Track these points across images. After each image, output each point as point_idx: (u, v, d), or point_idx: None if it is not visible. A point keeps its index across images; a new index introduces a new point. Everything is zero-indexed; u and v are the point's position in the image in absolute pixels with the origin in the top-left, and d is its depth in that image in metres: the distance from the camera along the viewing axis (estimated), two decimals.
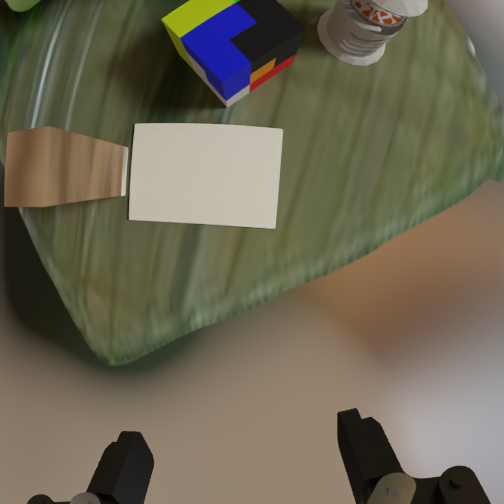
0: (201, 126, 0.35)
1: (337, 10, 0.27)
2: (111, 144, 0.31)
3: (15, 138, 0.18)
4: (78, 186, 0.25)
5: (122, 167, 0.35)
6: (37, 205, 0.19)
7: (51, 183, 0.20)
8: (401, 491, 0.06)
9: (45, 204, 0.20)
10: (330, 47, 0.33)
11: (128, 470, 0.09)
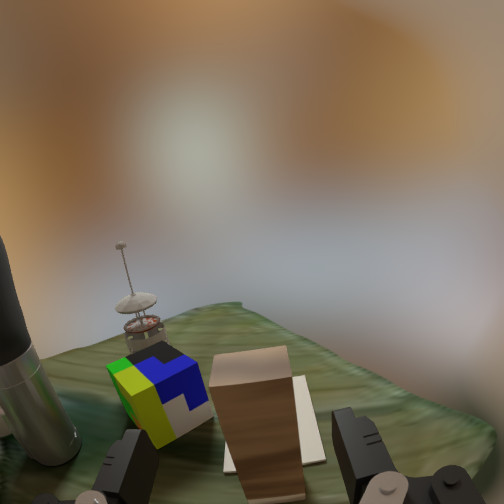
0: None
1: None
2: None
3: (217, 378, 0.22)
4: None
5: None
6: (285, 349, 0.25)
7: None
8: (393, 490, 0.06)
9: None
10: None
11: (134, 468, 0.09)
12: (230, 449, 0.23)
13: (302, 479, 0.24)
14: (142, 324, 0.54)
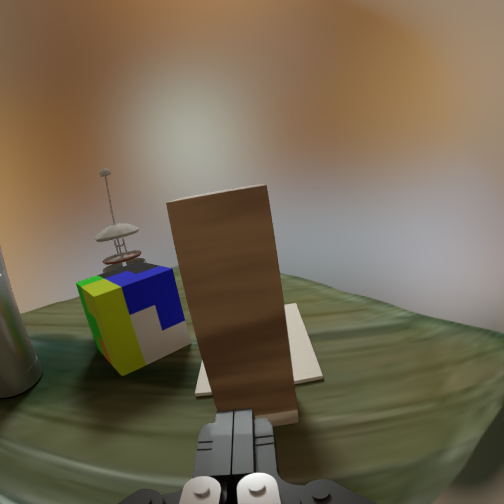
0: None
1: None
2: None
3: (179, 199, 0.19)
4: None
5: None
6: (261, 184, 0.22)
7: None
8: (259, 491, 0.07)
9: None
10: None
11: None
12: (192, 315, 0.20)
13: (292, 380, 0.21)
14: (122, 257, 0.51)
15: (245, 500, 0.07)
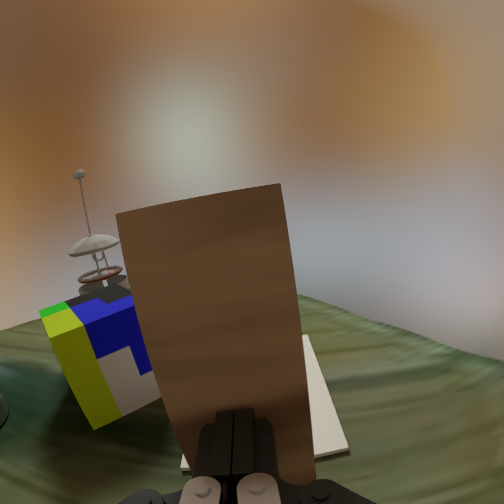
0: None
1: None
2: None
3: None
4: None
5: None
6: None
7: None
8: (259, 491, 0.07)
9: None
10: None
11: None
12: (163, 391, 0.12)
13: (313, 473, 0.13)
14: (100, 274, 0.42)
15: (245, 500, 0.07)
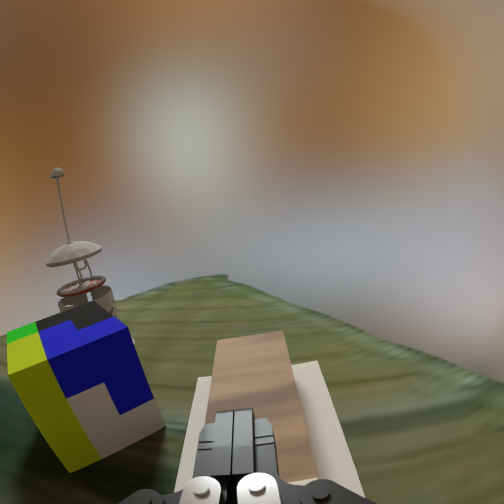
0: (187, 445, 0.21)
1: None
2: None
3: None
4: None
5: None
6: None
7: None
8: (259, 491, 0.07)
9: None
10: None
11: None
12: (212, 387, 0.21)
13: (305, 438, 0.15)
14: (81, 286, 0.36)
15: (245, 500, 0.07)
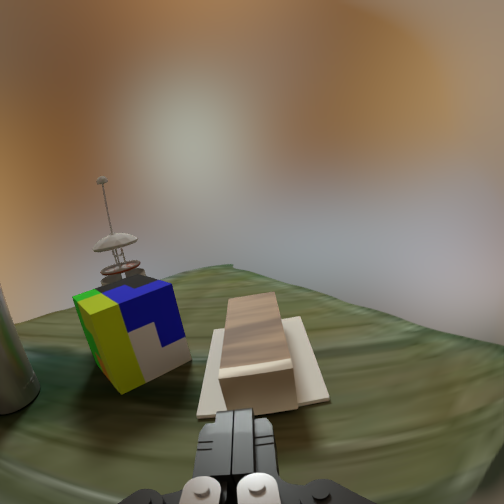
0: (208, 367, 0.34)
1: None
2: None
3: None
4: None
5: None
6: None
7: None
8: (259, 491, 0.07)
9: None
10: None
11: None
12: (226, 322, 0.34)
13: (285, 341, 0.28)
14: (120, 267, 0.50)
15: (245, 500, 0.07)
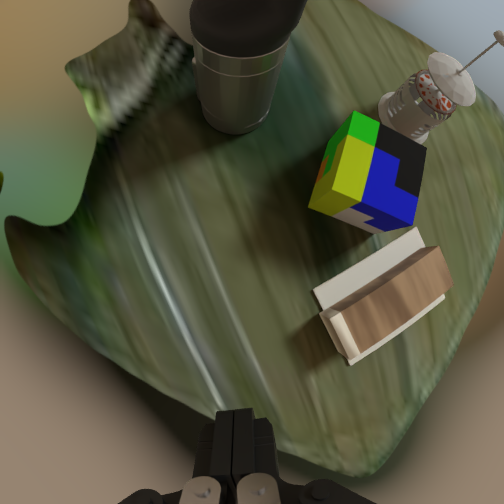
0: (367, 260, 0.41)
1: (409, 110, 0.36)
2: (353, 293, 0.40)
3: None
4: None
5: None
6: None
7: None
8: (259, 491, 0.07)
9: None
10: None
11: None
12: (401, 274, 0.36)
13: (379, 340, 0.36)
14: (436, 93, 0.33)
15: (245, 500, 0.07)
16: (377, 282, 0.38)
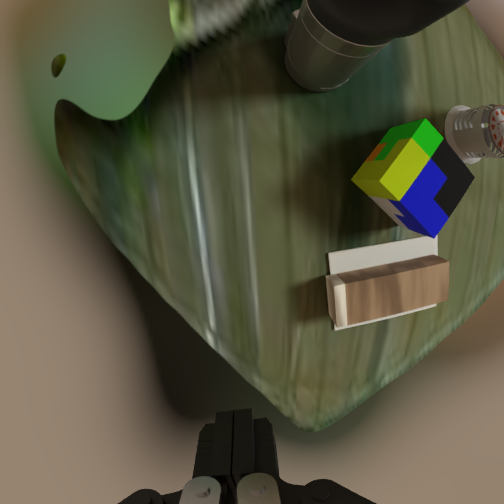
0: (383, 246, 0.43)
1: (473, 133, 0.34)
2: None
3: None
4: None
5: None
6: None
7: None
8: (259, 491, 0.07)
9: None
10: (457, 153, 0.40)
11: None
12: (407, 272, 0.39)
13: (367, 320, 0.41)
14: (503, 131, 0.30)
15: (245, 500, 0.07)
16: (385, 269, 0.41)
